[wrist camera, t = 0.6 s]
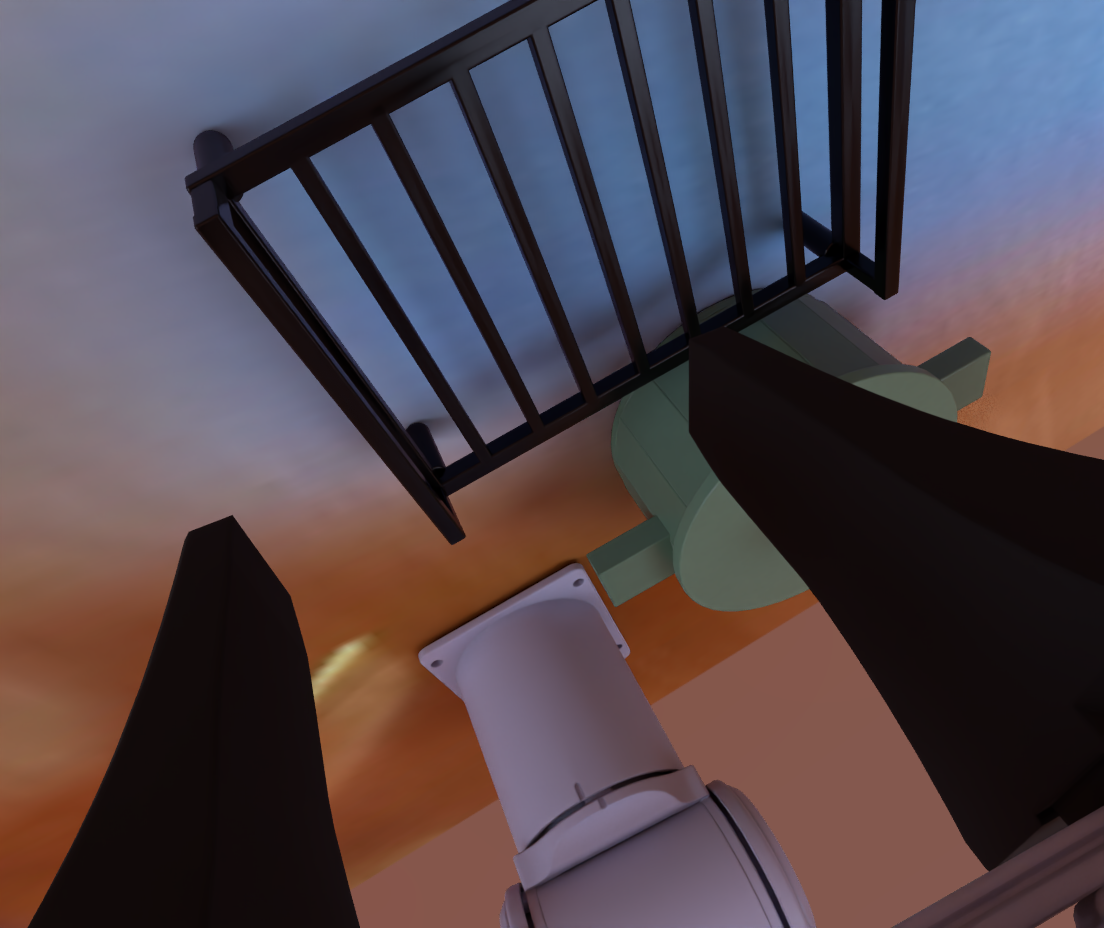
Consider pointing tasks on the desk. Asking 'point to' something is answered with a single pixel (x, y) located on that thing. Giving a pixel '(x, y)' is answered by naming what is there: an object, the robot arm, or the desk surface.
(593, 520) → the desk surface
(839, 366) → the pot
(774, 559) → the lid
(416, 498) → the rack
